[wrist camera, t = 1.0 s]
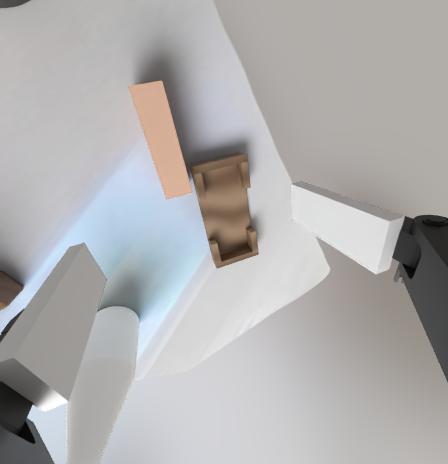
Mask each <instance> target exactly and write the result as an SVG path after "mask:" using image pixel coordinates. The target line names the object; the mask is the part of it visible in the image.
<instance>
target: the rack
mask: <svg viewBox="0 0 448 464" xmlns="http://www.w3.org/2000/svg"><path fill="white" fill-rule="evenodd" d="M190 169H191V173H192V177H193V181H194V185H195V189H196V193H197V197H198V201H199V205H200V209H201V213H202V217H203V221H204V225H205V229H206V233H207V237H208V241H209V245H210V249H211V253H212V257H213V261H214V263H215V265H216V267H217V268H220V267H223V266H226V265H229V264H232V263H235V262H238V261H241V260H244V259H247V258H249V257H252V256H255V255H258V254H259V253H258V244H257V236H256V231H255V230H254V229H253V228H252V227H251V224H250V217H249V209H248V201H247V194H246V189H247V188H250V187H251V186H250V177H249V169H248V160H247V154H243V153H238V154H234V155H230V156H226V157H221V158H217V159H213V160H208V161H204V162H200V163H196V164H191V165H190Z"/></svg>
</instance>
